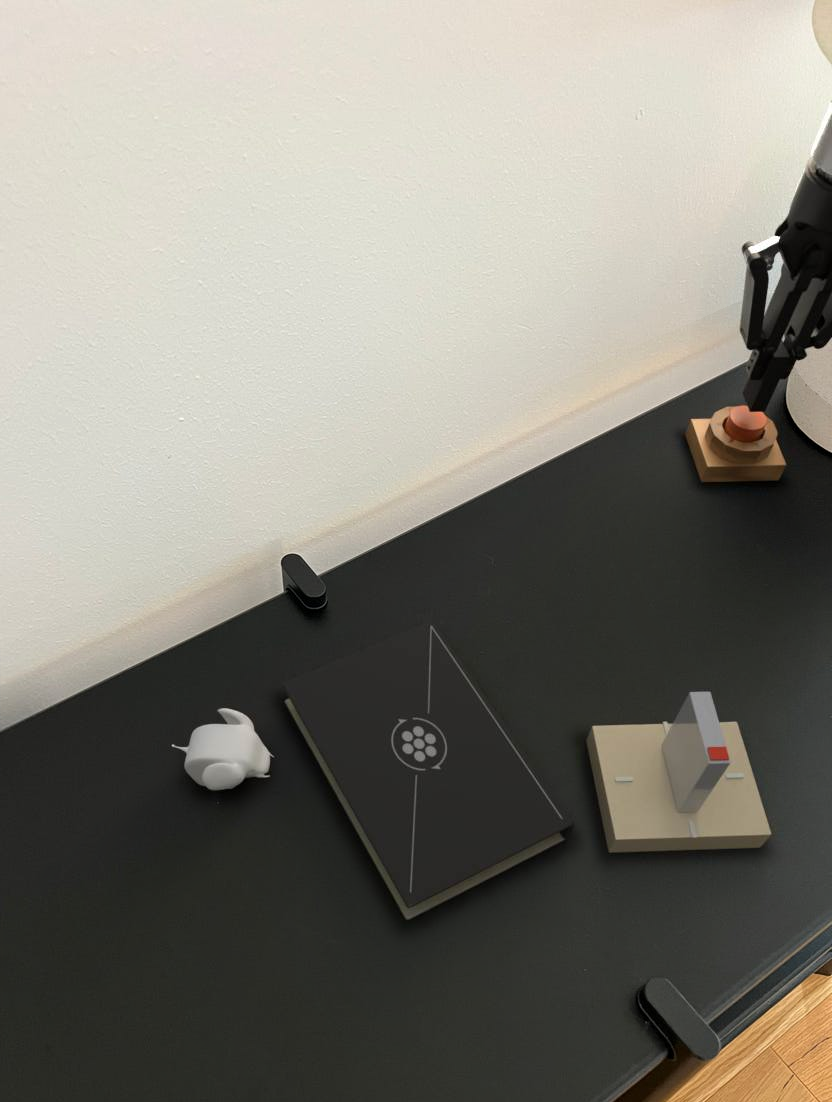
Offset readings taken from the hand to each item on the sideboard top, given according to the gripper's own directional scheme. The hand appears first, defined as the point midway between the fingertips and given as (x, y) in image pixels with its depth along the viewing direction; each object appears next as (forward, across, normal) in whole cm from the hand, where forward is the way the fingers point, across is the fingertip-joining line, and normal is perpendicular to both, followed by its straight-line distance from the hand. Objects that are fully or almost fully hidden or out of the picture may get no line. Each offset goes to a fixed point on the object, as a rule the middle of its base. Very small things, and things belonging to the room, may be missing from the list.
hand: (753, 402), depth 96 cm
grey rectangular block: (+5, -15, -38) cm, 41 cm away
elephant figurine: (+8, -51, -35) cm, 62 cm away
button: (+4, 0, 0) cm, 4 cm away
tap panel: (+7, -15, -38) cm, 41 cm away
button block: (+7, 0, 0) cm, 7 cm away
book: (+8, -35, -35) cm, 50 cm away
